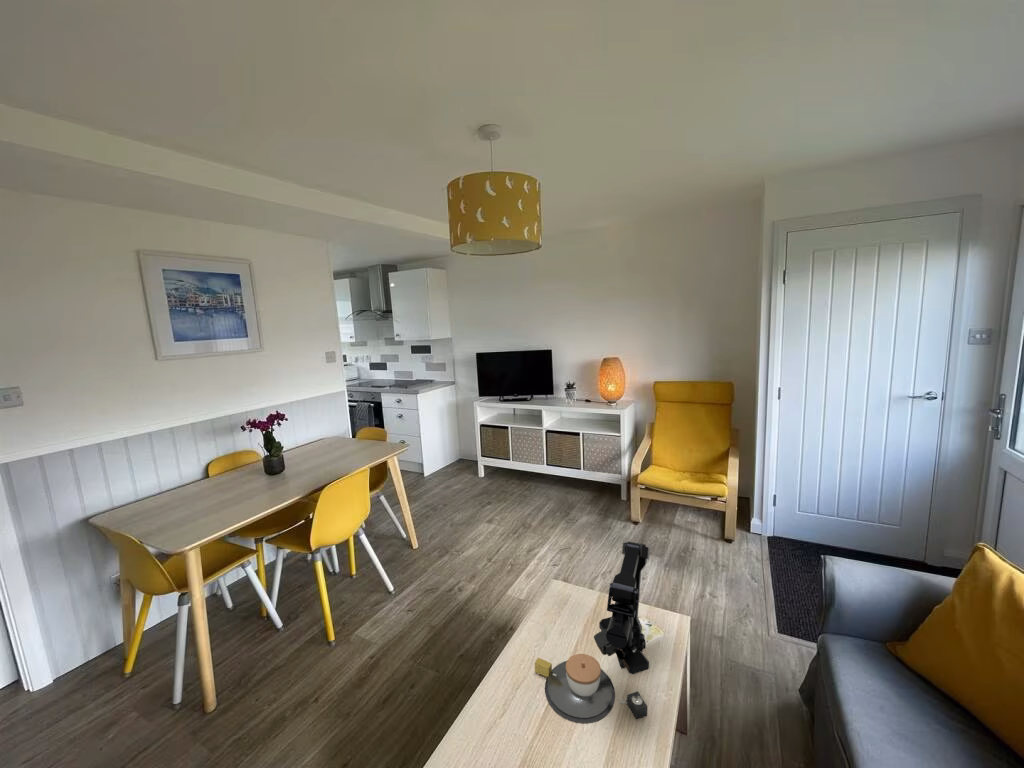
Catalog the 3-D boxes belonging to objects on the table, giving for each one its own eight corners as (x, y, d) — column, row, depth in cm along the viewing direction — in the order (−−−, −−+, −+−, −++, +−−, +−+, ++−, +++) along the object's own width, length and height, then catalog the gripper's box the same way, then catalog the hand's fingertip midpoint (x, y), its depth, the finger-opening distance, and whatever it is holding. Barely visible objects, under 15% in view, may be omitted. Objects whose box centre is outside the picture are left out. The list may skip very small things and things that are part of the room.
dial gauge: (637, 701, 129) (637, 690, 128) (647, 716, 124) (647, 705, 123) (618, 707, 127) (618, 696, 126) (627, 722, 122) (627, 712, 122)
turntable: (620, 676, 137) (620, 667, 136) (600, 731, 120) (600, 721, 119) (549, 647, 149) (549, 639, 148) (521, 693, 132) (521, 683, 132)
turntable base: (594, 653, 146) (594, 653, 146) (628, 710, 126) (628, 709, 126) (535, 671, 140) (535, 670, 140) (561, 733, 120) (561, 732, 120)
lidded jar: (572, 707, 127) (571, 679, 125) (561, 678, 137) (561, 652, 136) (606, 700, 129) (606, 673, 127) (593, 672, 139) (593, 646, 138)
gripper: (583, 606, 131) (584, 650, 134) (614, 653, 114) (613, 702, 117) (616, 598, 134) (615, 641, 137) (650, 643, 117) (649, 691, 120)
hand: (622, 667), depth 128 cm, fingers closed
